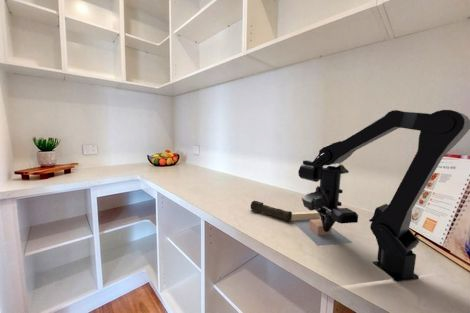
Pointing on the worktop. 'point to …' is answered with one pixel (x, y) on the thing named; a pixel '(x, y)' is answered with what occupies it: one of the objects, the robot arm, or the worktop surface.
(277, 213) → the hand tool
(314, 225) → the salmon brown block
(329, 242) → the slate mat
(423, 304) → the worktop surface
